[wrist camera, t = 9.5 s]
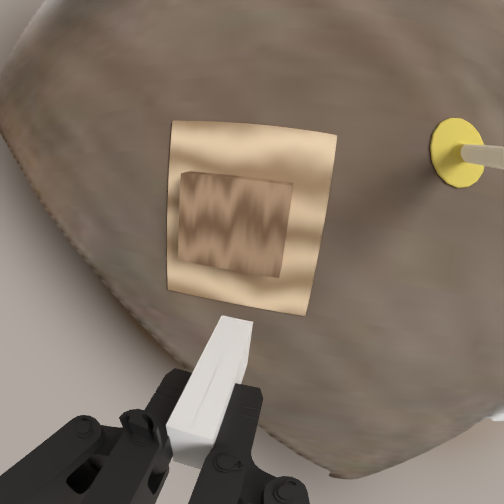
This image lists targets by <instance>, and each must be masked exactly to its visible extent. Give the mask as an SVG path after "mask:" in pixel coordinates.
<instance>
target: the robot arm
mask: <svg viewBox="0 0 504 504" xmlns="http://www.w3.org/2000/svg"><path fill="white" fill-rule="evenodd" d="M252 326H253V322H251V321H246V320H241V319H236V318H231V317H226V316H221V318H220V320H219V322H218V324H217V326H216V328H215V330H214V332H213V334H212V336H211V338H210V340H209V342H208V343H207V345H206V347H205V349H204V351H203V353H202V355H201V357H200V359H199V361H198V363H197V365H196V367H195V369H194V371H193V373H190V372H187V371H183V370H180V369H176V368H175V369H173V370H172V371H171V372H169V373H168V374H166V375H165V377H164V378H163V380H162V382H161V384H160V386H159V387H158V388H157V390H156V393H154V395H153V397H152V398H151V400H150V402H149V403H148V405H147V407H146V408H145V410H140V409H133V410H129V411H127V412H124V413H123V414H122V415H121V416H120V417H119V419H120V421H121V423H122V426H123V428H118V427H110V426H103V425H100V423H99V422H98V421H97V420H96V419H95V418H93V417H91V416H86V415H81V416H77V417H75V418H74V419H72V420H71V421H69V422H68V423H67V424H65V425H64V426H63V427H62V428H60V429H59V430H58V431H57V432H56V433H54V434H53V435H52V436H51V437H49V438H48V439H47V440H45V441H44V442H43V443H42V444H41V445H39V446H38V447H37V448H35V449H34V450H33V451H32V452H30V453H29V454H28V455H26V456H25V457H24V458H23V459H21V460H20V461H19V462H18V463H16V464H15V465H14V466H12V467H11V468H10V469H8V470H7V471H6V472H5V473H3V474H2V475H1V476H0V504H155V503H156V500H157V498H158V496H159V494H160V491H161V489H162V487H163V485H164V481H165V480H166V478H167V476H168V473H169V463H170V461H171V458H172V456H173V460H174V461H176V462H179V463H182V464H185V465H188V466H191V467H195V468H198V469H201V471H200V474H199V477H198V479H197V482H196V485H195V487H194V490H193V492H192V495H191V498H190V501H189V503H188V504H310V503H309V497H308V492H307V489H306V487H305V485H304V484H303V483H302V482H301V481H300V480H298V479H296V478H293V477H287V476H282V477H275V476H272V475H270V474H268V473H266V472H264V471H262V470H261V469H259V468H258V467H257V466H256V465H255V464H254V462H253V460H252V457H251V449H252V445H253V441H254V437H255V432H256V428H257V424H258V419H259V415H260V411H261V406H262V402H263V396H262V393H261V390H260V388H257V387H252V386H247V385H242V384H241V382H242V379H243V376H244V372H245V369H246V366H247V361H248V354H249V347H250V340H251V333H252Z"/></svg>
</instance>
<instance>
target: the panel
mask: <svg viewBox="0 0 504 504" xmlns="http://www.w3.org/2000/svg"><path fill="white" fill-rule="evenodd" d="M292 190H293V183H289V182H282V181H275V180H268V179H260V178H252V177H244V176H235V175H225V174H215V173H205V172H193V171H189V172H184V173H181V181H180V202H179V235H178V260H179V261H184V262H189V263H195V264H200V265H206V266H211V267H217V268H222V269H228V270H234V271H239V272H245V273H251V274H257V275H262V276H268V277H274V278H279V276H280V271H281V266H282V260H283V253H284V246H285V240H286V233H287V226H288V219H289V212H290V205H291V197H292Z"/></svg>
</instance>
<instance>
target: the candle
mask: <svg viewBox="0 0 504 504" xmlns="http://www.w3.org/2000/svg"><path fill="white" fill-rule="evenodd" d="M430 152H431V160H432V163H433V165H434V167H435V169H436V172H437V174H438V175H439V176H440V177H441V178H442V179H443V180H444V181H445V182H446V183H447V184H449V185H452V186H454V187H456V188H463V187H469V186H470V185H472V184H473V183H475V182H477V181H478V179H479V177H480V176H481V174H482V173H483V170H484V166H488V167H493V168H498V169H503V170H504V147H501V146H488V145H484V144H483V141H482V139H481V137H480V134H479V133H478V132H477V130H476V129H475V128H474V127H473V126H472V125H471V124H470V123H468V122H466V121H464V120H462V119H461V118H448V119H446V120H444V121H443V122H441V123H439V124H438V126H437V127H436V129H435V130H434V132H433V134H432V139H431V144H430Z"/></svg>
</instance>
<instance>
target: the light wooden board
mask: <svg viewBox="0 0 504 504" xmlns="http://www.w3.org/2000/svg"><path fill="white" fill-rule="evenodd" d="M336 140H337V135H332V134H326V133H320V132H314V131H307V130H300V129H293V128H285V127H276V126H267V125H256V124H244V123H230V122H209V121H173V122H172V133H171V146H170V161H169V180H168V208H167V277H168V290H172V291H177V292H181V293H186V294H190V295H195V296H200V297H204V298H209V299H214V300H219V301H224V302H229V303H234V304H239V305H245V306H250V307H255V308H261V309H267V310H272V311H278V312H284V313H290V314H296V315H302V316H305V314H306V310H307V306H308V301H309V297H310V292H311V288H312V283H313V278H314V273H315V268H316V263H317V258H318V253H319V248H320V243H321V237H322V232H323V226H324V221H325V215H326V209H327V203H328V197H329V190H330V184H331V177H332V170H333V163H334V156H335V148H336ZM189 171H193V172H205V173H215V174H225V175H235V176H244V177H252V178H260V179H268V180H275V181H282V182H289V183H293V190H292V197H291V205H290V212H289V219H288V226H287V233H286V240H285V246H284V253H283V260H282V266H281V271H280V276H279V278H274V277H268V276H262V275H257V274H251V273H245V272H239V271H234V270H228V269H222V268H217V267H211V266H206V265H200V264H195V263H189V262H184V261H179V260H178V235H179V202H180V181H181V173H184V172H189Z"/></svg>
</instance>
